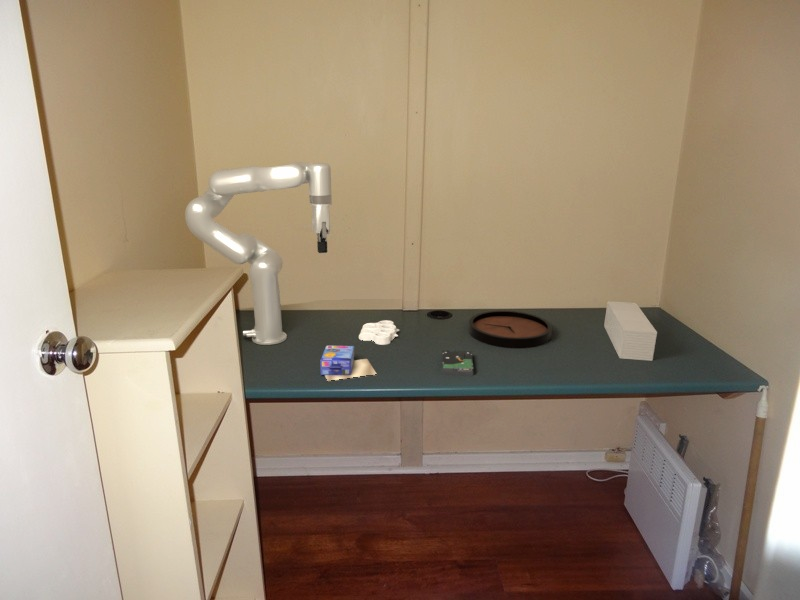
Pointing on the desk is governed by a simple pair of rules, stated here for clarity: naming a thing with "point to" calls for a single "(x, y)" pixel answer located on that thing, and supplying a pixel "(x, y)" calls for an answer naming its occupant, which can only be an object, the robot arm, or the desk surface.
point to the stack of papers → (630, 331)
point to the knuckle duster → (379, 332)
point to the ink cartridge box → (337, 360)
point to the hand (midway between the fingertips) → (322, 252)
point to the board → (355, 370)
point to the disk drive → (457, 362)
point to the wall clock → (510, 329)
